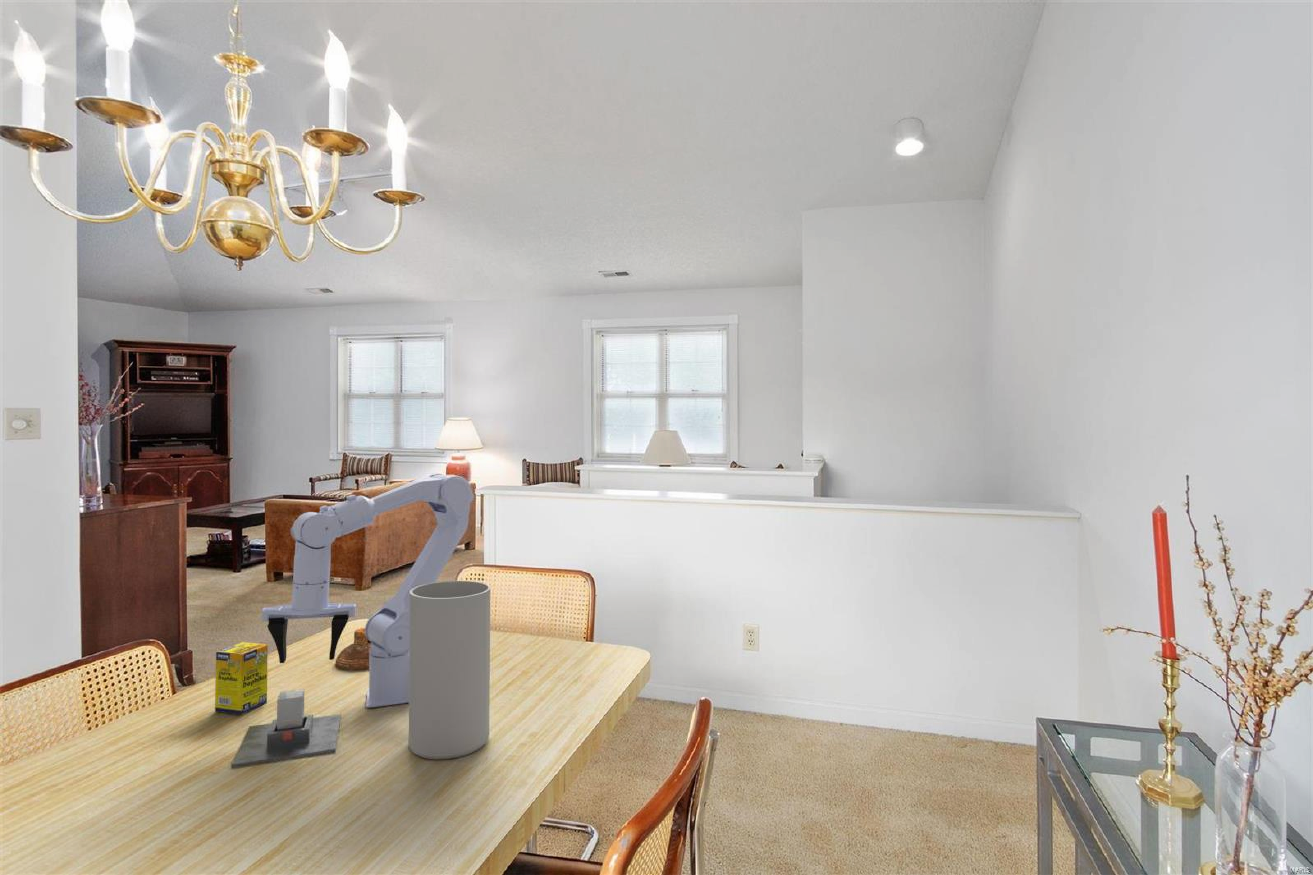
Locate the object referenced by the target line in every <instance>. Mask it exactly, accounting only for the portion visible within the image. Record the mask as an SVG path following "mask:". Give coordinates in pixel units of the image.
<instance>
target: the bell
mask: <svg viewBox="0 0 1313 875" xmlns="http://www.w3.org/2000/svg"><path fill="white" fill-rule="evenodd" d="M370 648H371V642H370V641H369V640H368V639H367V637H366V634H365V627H362V628H357V629H355V631H354V633H353V643H351V644H349V645H348V646H346V647H344V648H343V649H342V650H341V651H340V653H339V654H338V655H337V656H336V659H335V666H336V667H337V668H338V669H341V670H346V671H366V670H369V654H370V653H369V650H370Z"/></svg>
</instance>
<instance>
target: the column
mask: <svg viewBox="0 0 1313 875" xmlns="http://www.w3.org/2000/svg"><path fill="white" fill-rule="evenodd" d="M278 694H279V695H278V697H277V699H276V708H277V709H276V719H277V731H284V730H291V729H298V728H304V727H305V726H304V716H305V689H303V688H302V689H301V688H300V689H294V690H283V691H280V692H279V693H278Z"/></svg>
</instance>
